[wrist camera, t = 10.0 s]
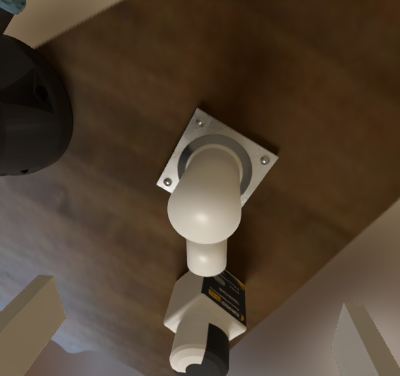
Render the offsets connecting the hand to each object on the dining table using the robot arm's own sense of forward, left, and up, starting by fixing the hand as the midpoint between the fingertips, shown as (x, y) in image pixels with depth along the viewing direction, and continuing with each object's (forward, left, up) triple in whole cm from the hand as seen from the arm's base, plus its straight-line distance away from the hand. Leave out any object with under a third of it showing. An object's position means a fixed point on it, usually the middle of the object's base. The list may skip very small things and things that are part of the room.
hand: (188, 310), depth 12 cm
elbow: (0, -1, -18) cm, 18 cm away
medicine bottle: (+8, -15, -19) cm, 26 cm away
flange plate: (-1, 0, -19) cm, 19 cm away
